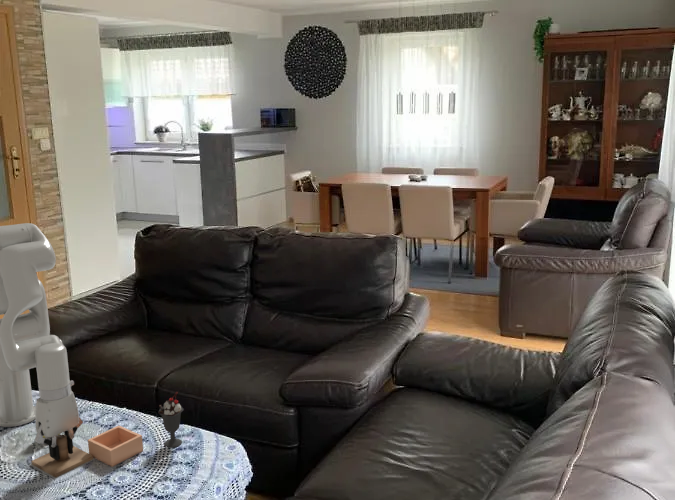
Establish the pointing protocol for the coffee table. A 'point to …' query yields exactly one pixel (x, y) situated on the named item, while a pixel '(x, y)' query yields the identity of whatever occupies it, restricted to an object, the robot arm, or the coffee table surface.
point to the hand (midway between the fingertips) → (61, 454)
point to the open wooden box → (115, 445)
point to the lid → (62, 459)
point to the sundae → (171, 420)
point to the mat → (62, 474)
